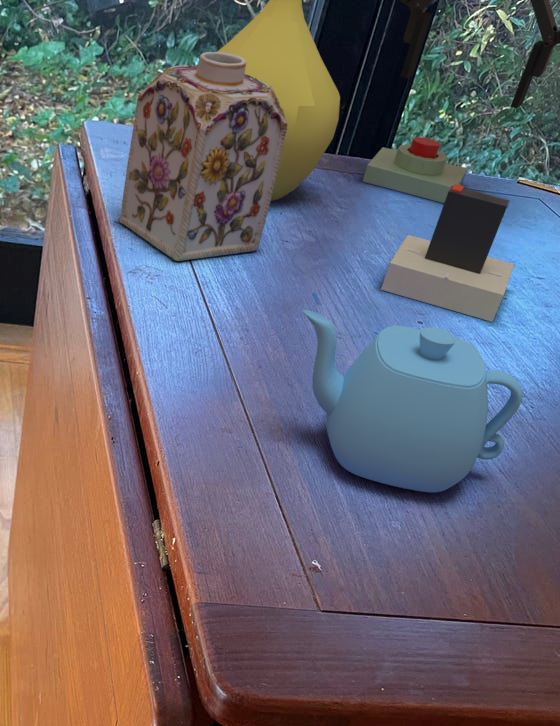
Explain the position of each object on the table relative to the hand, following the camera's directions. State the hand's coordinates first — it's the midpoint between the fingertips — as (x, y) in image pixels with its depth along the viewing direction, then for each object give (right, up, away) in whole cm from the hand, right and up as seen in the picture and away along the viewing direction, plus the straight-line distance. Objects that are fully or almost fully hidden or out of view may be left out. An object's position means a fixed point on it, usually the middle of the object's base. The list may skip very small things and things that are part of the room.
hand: (460, 91), depth 119 cm
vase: (-25, -8, +7) cm, 27 cm away
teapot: (-21, -50, -37) cm, 66 cm away
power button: (0, -1, +15) cm, 15 cm away
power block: (0, -3, +17) cm, 17 cm away
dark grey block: (-5, -25, -12) cm, 28 cm away
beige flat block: (-6, -27, -10) cm, 29 cm away
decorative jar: (-33, -21, -7) cm, 40 cm away
